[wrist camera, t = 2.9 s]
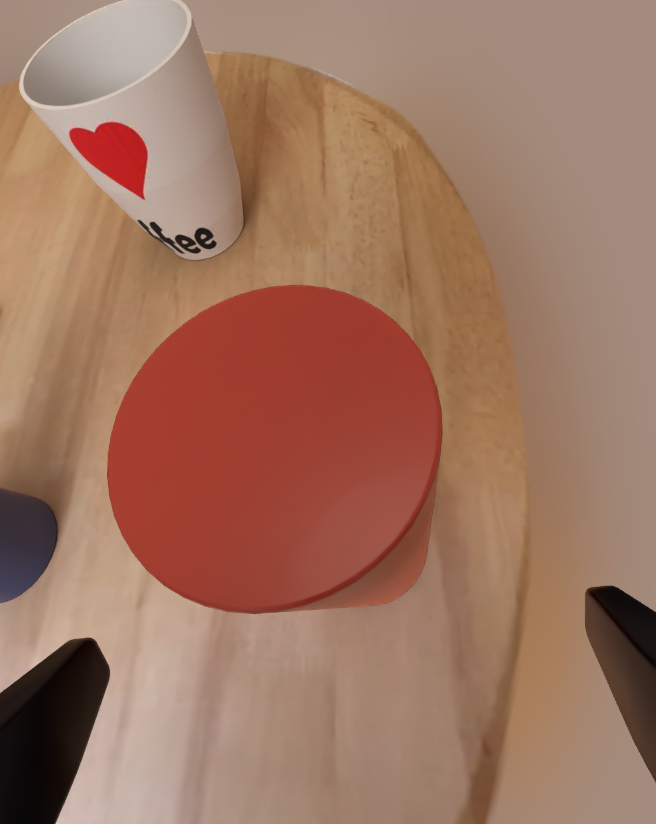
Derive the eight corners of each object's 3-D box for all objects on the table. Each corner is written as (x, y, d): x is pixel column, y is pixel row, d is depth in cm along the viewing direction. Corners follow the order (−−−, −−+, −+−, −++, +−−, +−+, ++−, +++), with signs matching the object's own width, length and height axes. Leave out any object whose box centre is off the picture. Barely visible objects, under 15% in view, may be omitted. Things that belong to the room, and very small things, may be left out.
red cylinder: (405, 627, 16) (366, 693, 5) (289, 576, 18) (41, 527, 6) (442, 503, 18) (485, 316, 6) (333, 466, 19) (201, 261, 8)
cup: (124, 254, 28) (-14, 90, 19) (202, 172, 30) (108, -12, 21) (213, 297, 25) (96, 126, 16) (292, 202, 27) (228, 2, 18)
